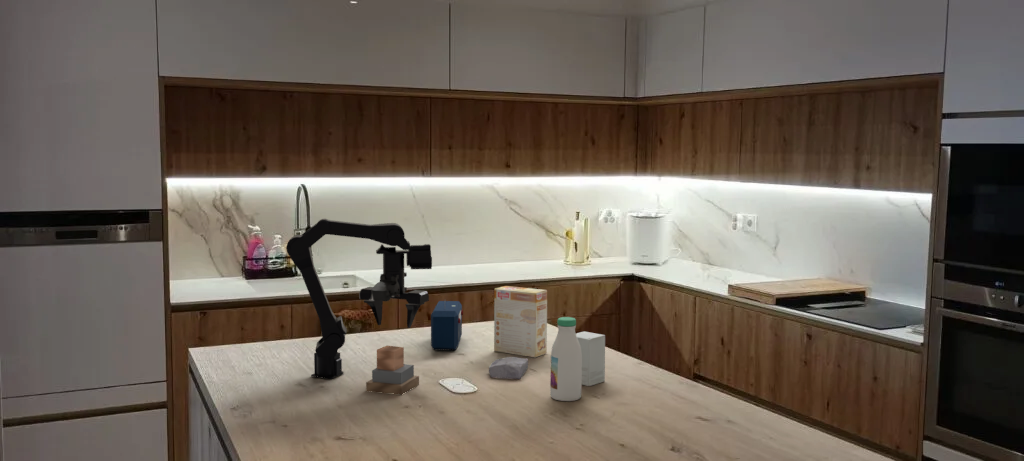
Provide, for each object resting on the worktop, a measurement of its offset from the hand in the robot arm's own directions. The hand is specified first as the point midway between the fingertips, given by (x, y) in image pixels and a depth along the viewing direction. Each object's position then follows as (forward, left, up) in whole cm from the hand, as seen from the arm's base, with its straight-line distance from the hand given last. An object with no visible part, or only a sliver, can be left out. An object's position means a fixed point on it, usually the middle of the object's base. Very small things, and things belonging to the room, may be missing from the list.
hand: (394, 326), depth 233 cm
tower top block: (+7, -13, -11) cm, 18 cm away
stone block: (+29, +12, -14) cm, 34 cm away
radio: (-1, +37, -13) cm, 39 cm away
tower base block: (+7, -13, -14) cm, 20 cm away
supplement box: (+51, +11, -13) cm, 54 cm away
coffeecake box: (+24, +35, -13) cm, 45 cm away
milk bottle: (+50, -5, -13) cm, 52 cm away
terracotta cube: (+6, -13, -8) cm, 16 cm away
